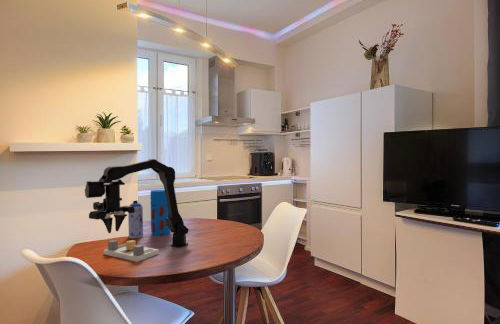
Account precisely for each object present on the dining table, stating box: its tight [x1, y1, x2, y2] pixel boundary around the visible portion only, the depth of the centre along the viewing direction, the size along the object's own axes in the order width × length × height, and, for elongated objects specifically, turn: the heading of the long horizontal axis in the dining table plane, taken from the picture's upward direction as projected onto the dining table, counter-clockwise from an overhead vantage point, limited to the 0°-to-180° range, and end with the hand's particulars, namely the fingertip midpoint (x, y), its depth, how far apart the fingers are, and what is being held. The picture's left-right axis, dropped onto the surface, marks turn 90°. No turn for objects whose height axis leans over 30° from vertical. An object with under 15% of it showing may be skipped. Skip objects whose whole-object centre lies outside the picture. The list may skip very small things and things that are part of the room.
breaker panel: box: [103, 239, 159, 263], centre depth 142 cm, size 12×22×6 cm, turn 60°
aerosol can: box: [127, 200, 144, 239], centre depth 173 cm, size 8×8×20 cm
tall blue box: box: [150, 189, 171, 237], centre depth 179 cm, size 11×11×25 cm
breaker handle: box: [125, 239, 137, 250], centre depth 141 cm, size 3×3×4 cm
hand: (113, 232), depth 134 cm, fingers open, 3 cm apart
